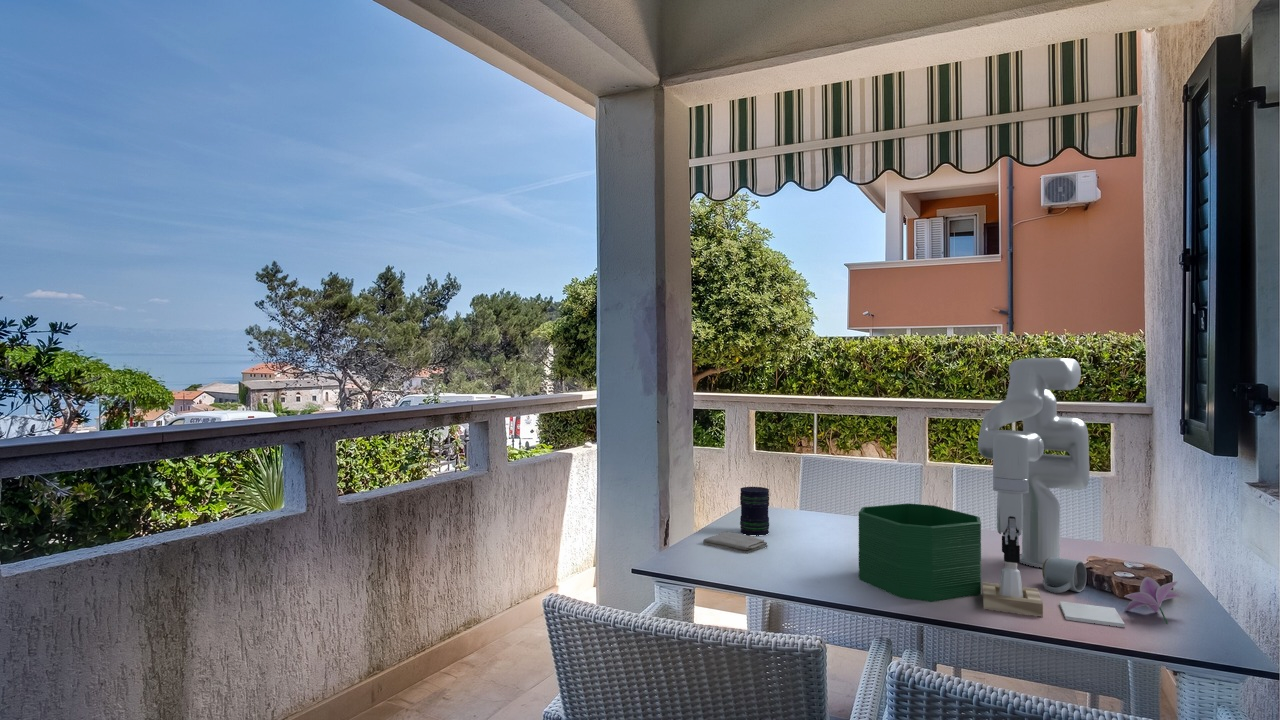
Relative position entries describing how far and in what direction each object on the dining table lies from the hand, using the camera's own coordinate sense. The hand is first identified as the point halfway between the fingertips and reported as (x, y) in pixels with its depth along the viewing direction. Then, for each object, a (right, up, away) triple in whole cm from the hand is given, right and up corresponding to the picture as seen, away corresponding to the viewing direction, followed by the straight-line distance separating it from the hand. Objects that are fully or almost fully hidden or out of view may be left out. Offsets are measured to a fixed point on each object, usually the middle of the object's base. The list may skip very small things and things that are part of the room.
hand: (1010, 557), depth 164 cm
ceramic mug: (+20, -12, +13) cm, 27 cm away
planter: (-15, -12, +17) cm, 26 cm away
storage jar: (-49, -12, +72) cm, 88 cm away
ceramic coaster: (+15, -11, -7) cm, 20 cm away
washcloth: (-58, -13, +55) cm, 81 cm away
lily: (+29, -12, -7) cm, 32 cm away
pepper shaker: (0, -12, 0) cm, 12 cm away
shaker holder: (0, -11, 0) cm, 11 cm away
